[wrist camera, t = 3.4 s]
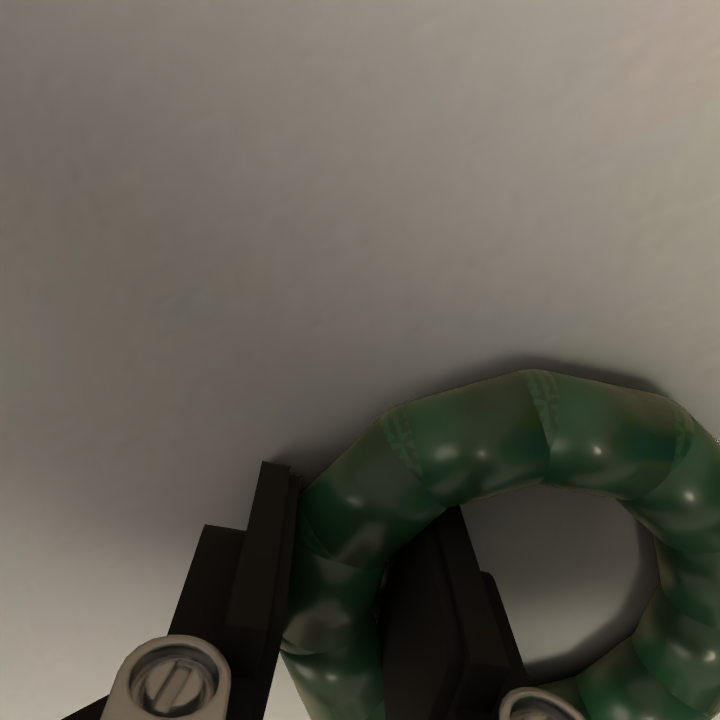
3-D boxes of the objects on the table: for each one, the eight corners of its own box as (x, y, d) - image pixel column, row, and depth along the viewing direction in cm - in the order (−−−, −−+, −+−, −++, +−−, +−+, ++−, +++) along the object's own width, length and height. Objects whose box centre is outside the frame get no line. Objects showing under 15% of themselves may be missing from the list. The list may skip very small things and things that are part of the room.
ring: (333, 310, 10) (331, 348, 8) (817, 415, 11) (902, 467, 9) (245, 701, 13) (231, 786, 11) (630, 756, 14) (670, 843, 12)
